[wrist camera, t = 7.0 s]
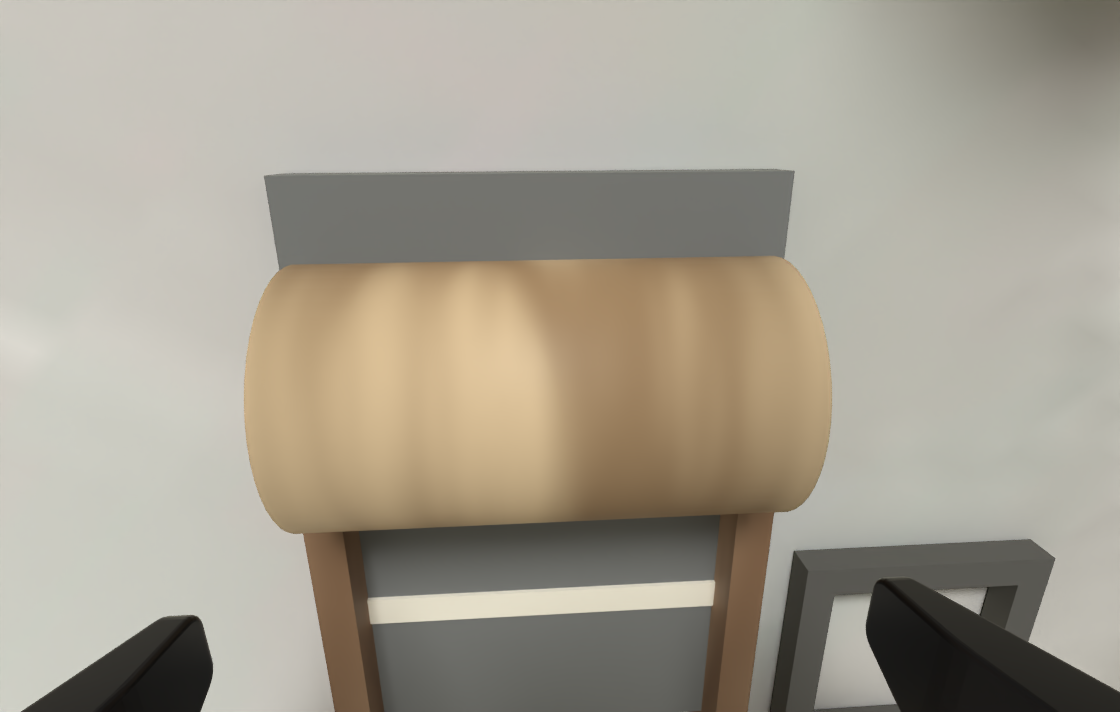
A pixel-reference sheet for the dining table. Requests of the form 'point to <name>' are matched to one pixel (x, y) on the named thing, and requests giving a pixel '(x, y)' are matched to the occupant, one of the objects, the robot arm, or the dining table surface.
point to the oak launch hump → (534, 392)
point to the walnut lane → (728, 639)
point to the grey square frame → (824, 573)
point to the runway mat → (553, 547)
